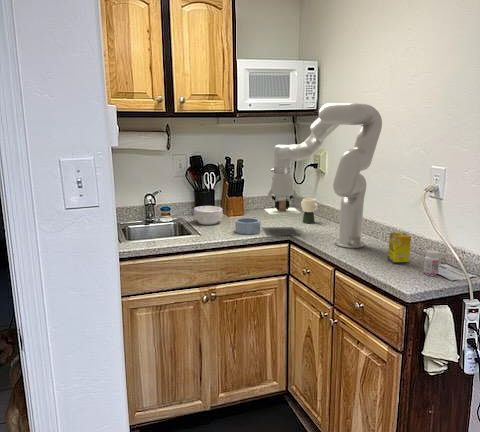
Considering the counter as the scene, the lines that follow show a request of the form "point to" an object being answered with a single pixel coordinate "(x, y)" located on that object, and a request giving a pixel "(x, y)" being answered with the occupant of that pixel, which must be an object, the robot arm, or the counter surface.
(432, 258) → the pill bottle
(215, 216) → the pale pink bowl
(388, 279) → the counter surface
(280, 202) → the lid
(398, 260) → the supplement box
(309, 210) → the character mug
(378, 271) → the counter surface
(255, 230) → the bowl
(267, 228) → the mat
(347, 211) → the robot arm
